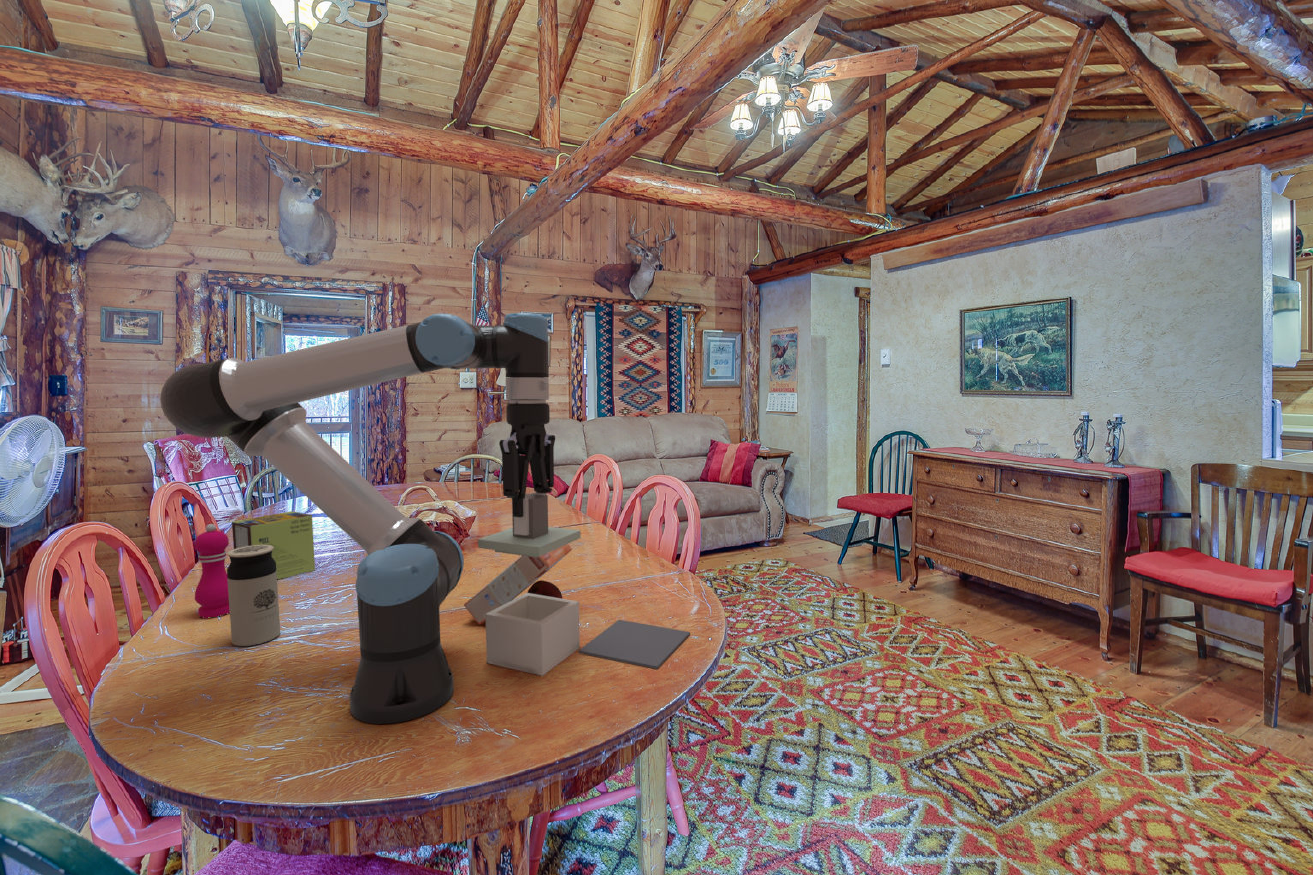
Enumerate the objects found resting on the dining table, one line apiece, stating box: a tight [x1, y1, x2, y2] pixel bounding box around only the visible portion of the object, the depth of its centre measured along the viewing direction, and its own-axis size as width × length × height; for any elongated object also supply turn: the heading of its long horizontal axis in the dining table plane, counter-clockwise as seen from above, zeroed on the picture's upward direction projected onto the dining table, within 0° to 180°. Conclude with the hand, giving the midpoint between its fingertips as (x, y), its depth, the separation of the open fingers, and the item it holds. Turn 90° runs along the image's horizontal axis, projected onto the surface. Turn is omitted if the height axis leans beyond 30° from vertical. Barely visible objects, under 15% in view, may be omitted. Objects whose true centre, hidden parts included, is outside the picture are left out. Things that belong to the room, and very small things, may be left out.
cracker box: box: [463, 543, 573, 626], centre depth 127 cm, size 14×6×21 cm
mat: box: [578, 619, 691, 670], centre depth 114 cm, size 16×16×1 cm
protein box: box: [231, 510, 316, 580], centre depth 157 cm, size 10×15×16 cm
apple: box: [526, 579, 563, 599], centre depth 127 cm, size 7×8×8 cm
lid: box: [477, 493, 582, 557], centre depth 107 cm, size 13×13×10 cm
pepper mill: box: [194, 523, 230, 619], centre depth 130 cm, size 7×7×20 cm
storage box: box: [485, 592, 581, 677], centre depth 109 cm, size 12×12×9 cm
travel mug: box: [226, 545, 281, 647], centre depth 116 cm, size 8×8×18 cm
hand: (530, 530), depth 107 cm, fingers closed on lid, 4 cm apart
